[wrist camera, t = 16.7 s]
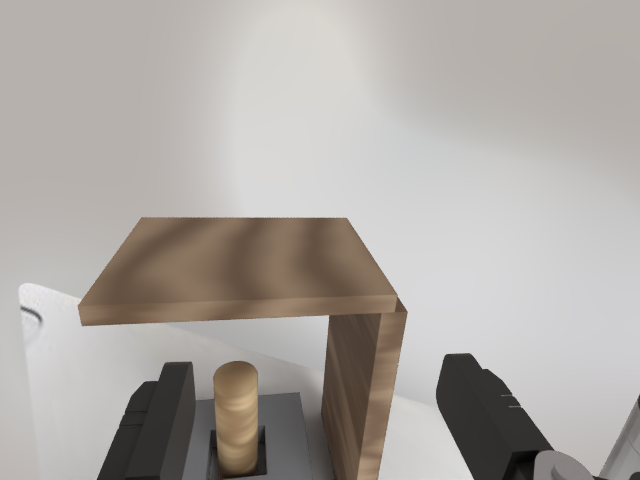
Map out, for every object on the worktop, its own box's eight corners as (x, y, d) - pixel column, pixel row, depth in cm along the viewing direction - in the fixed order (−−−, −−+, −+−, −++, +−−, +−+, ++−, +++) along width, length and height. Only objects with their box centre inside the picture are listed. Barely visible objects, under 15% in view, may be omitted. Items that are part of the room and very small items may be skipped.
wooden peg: (257, 451, 47) (257, 359, 42) (258, 486, 43) (258, 390, 38) (220, 454, 47) (215, 362, 41) (217, 490, 43) (211, 393, 37)
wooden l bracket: (335, 411, 54) (355, 217, 43) (367, 537, 39) (410, 294, 28) (167, 426, 50) (141, 217, 39) (134, 572, 35) (77, 305, 24)
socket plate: (298, 409, 54) (299, 392, 53) (316, 534, 39) (318, 515, 38) (177, 419, 51) (175, 402, 50) (148, 558, 36) (145, 538, 35)
